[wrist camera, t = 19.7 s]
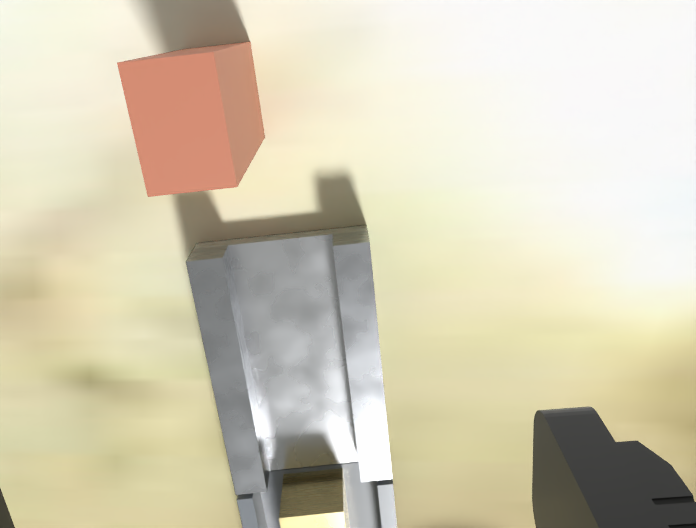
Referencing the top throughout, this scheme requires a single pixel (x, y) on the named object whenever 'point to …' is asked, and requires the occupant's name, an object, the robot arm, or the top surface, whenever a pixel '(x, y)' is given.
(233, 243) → the slot bed
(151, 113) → the pink rectangular block
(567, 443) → the robot arm
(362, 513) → the tray
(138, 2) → the top surface
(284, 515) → the tan cubic piece
